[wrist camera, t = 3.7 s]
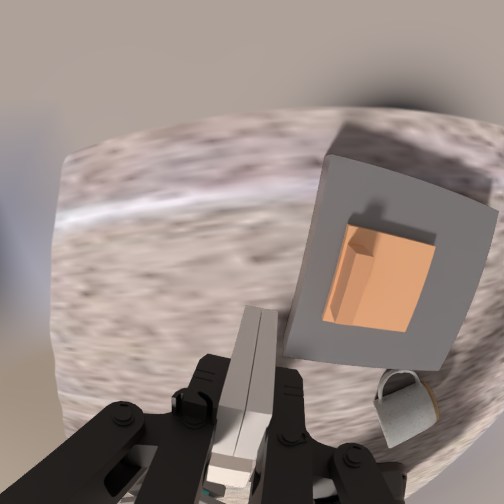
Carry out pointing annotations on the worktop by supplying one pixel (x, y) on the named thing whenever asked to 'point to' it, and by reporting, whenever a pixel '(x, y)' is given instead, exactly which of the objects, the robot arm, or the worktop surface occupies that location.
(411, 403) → the ceramic mug
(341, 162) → the socket block
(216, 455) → the teal plug
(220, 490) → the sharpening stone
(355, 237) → the terracotta shutter
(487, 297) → the worktop surface
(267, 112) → the worktop surface
